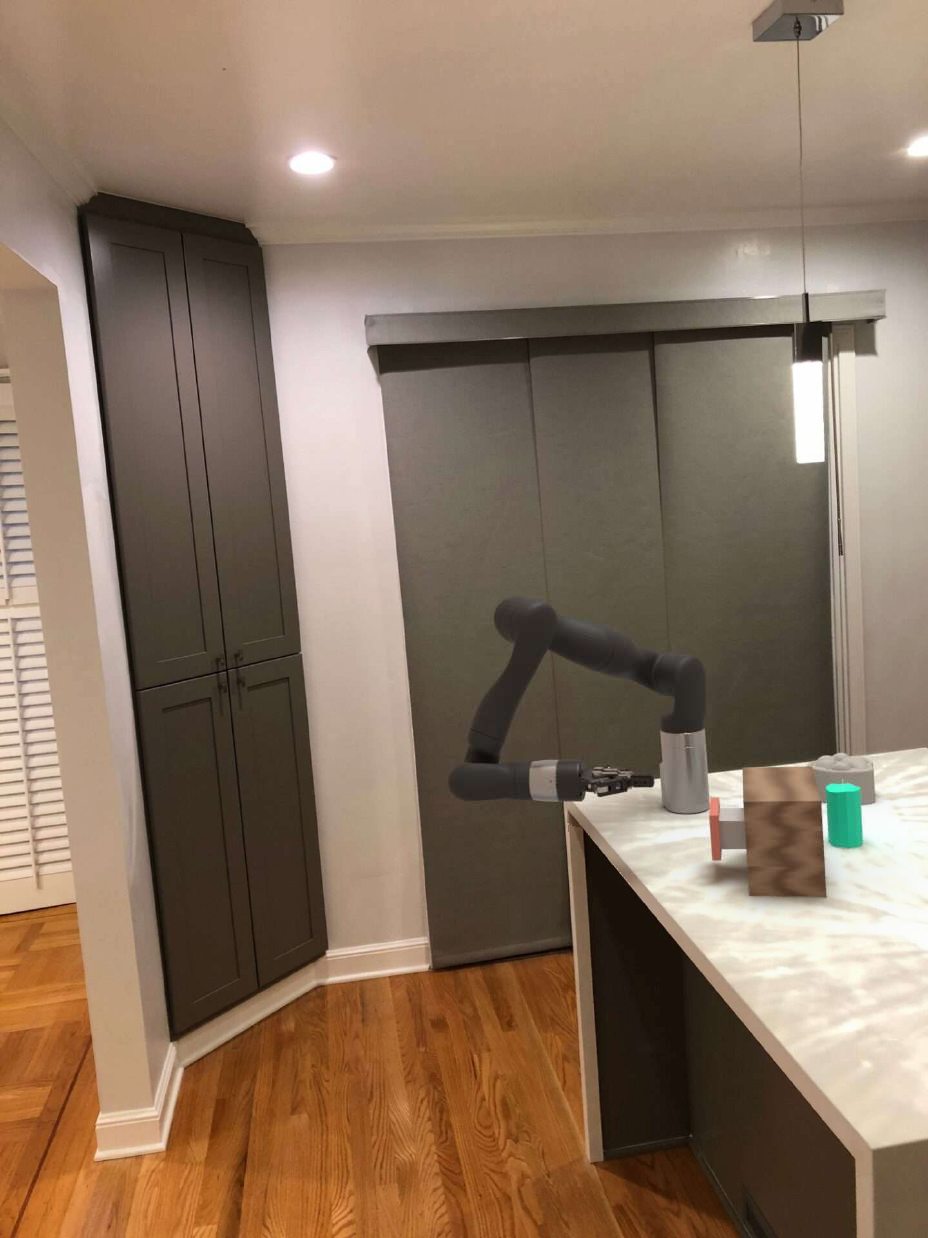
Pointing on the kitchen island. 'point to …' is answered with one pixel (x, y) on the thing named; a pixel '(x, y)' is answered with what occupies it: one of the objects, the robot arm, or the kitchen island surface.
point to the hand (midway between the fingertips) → (653, 780)
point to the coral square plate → (726, 828)
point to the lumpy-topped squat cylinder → (845, 774)
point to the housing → (783, 832)
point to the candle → (844, 815)
